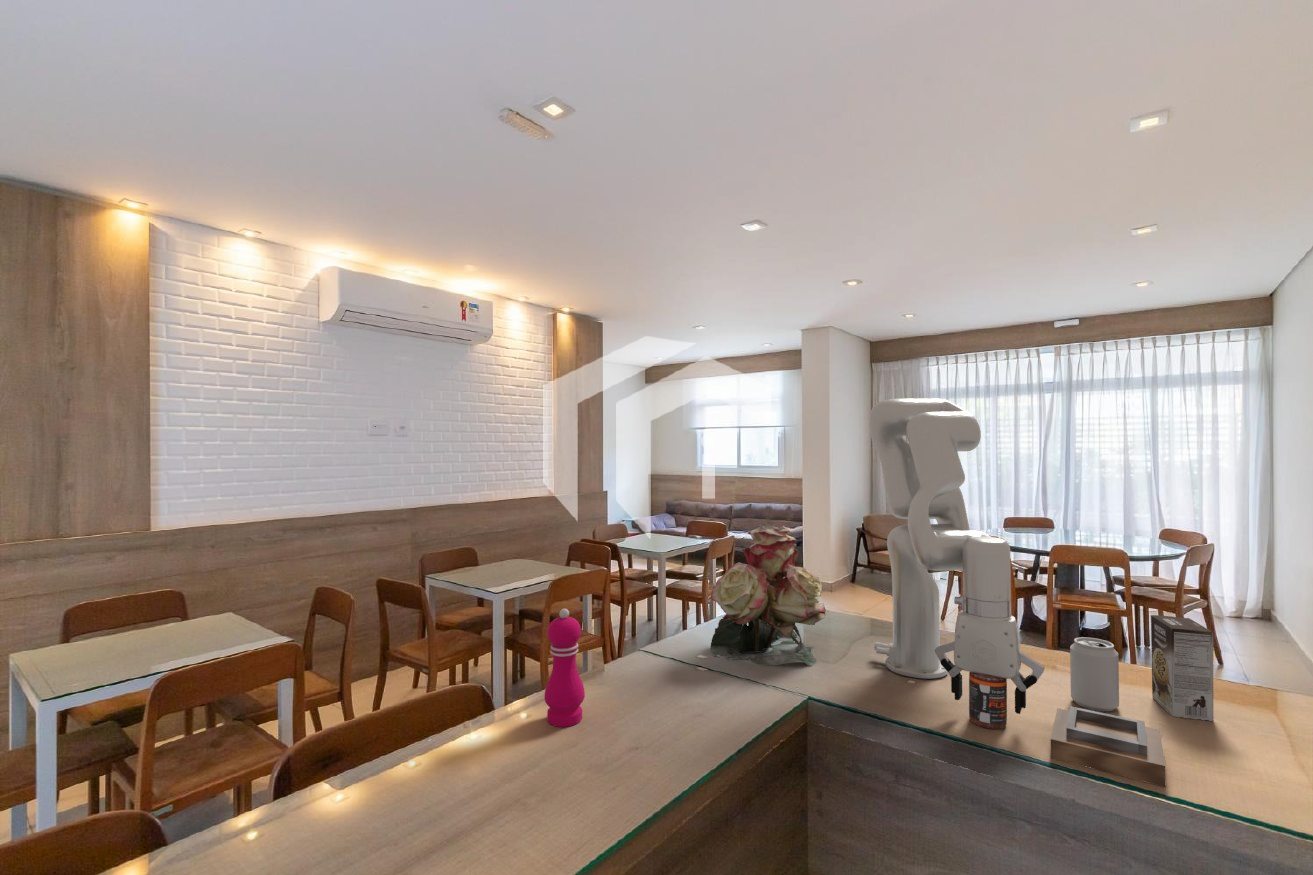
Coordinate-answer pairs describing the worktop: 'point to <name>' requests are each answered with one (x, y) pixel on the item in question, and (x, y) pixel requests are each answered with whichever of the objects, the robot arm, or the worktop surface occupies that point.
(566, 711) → the pepper mill
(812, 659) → the rose bouquet
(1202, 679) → the coffee box
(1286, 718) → the worktop surface
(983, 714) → the supplement bottle
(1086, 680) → the can
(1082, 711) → the display pedestal
